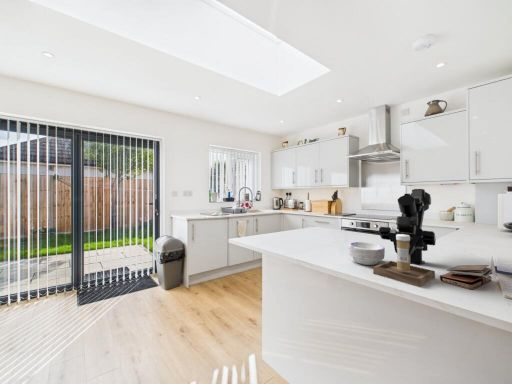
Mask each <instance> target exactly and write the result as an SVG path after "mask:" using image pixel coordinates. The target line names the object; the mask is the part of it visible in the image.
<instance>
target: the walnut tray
mask: <svg viewBox="0 0 512 384" xmlns="http://www.w3.org/2000/svg"><path fill="white" fill-rule="evenodd" d="M372 268H373V271H372V273H373V275H377V276H380V277H383V278H387V279H390V280H393V281H398V282H401V283H404V284H408V285H412V286H415V287H418V288H420V287H422V286H423V285H425V284H427V283H429V282H431V281H432V280H434V279H436V270H432V269H427V268H423V267H419V266H415V265H412V264H410V271H402V270H399V269H397V261H394V260H388V261H386V262H383V263H380V264H376V265H373V267H372Z"/></svg>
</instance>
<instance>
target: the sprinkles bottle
mask: <svg viewBox="0 0 512 384" xmlns="http://www.w3.org/2000/svg"><path fill="white" fill-rule="evenodd" d="M396 239H397V253H396V262H397V269H399V270H402V271H410V265H411V263H410V255H409V249H410V243H409V242H410V236H409V235H405V234H397V235H396Z"/></svg>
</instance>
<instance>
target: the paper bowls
mask: <svg viewBox="0 0 512 384" xmlns="http://www.w3.org/2000/svg"><path fill="white" fill-rule="evenodd" d="M347 246H348V250H347V253H348V255H349V256H350V257H352V259H353V261H354V262H355V263H358V264H360V265H364V266H377V265H379V262H380V261H382V260H384V259H385V253H386V251H385V247H384V246H383V245H381V244H378V243H374V242H369V241H368V242H367V241H352V242H349V243H348V245H347Z"/></svg>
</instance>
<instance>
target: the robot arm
mask: <svg viewBox="0 0 512 384" xmlns="http://www.w3.org/2000/svg"><path fill="white" fill-rule="evenodd" d="M397 203H398V208H399V212H400V213H401V215H400V216H396V222H395V223H396V224H395V225H396V229H397V230H396V229H392V228H391V227H389V226H380V227H379V228H378V233H379V236H380V239H382V240H387V241H388V240H389V242H392V243H393V247H394V253H396V254H397V239H396V235H397V234H405V235H409V236H410V242H409V243H410V249H409V255H410V264H414V265H419V266H420V265H422V264H425V263H426V261H425V260H423V252H426V251H427V252H428V246H435V245H436V243H437V242H436V240H437V239H436V234H435V232H434V230H433V231H432V230H431V231H430V230H424V229H422V228H423V220H424V215H425V212H426V211H428V210H429V209H430V205H432V197H431V194H430V193H428V192H426V190H425V189H424V188H414V189H412V190H411V193H404V194H403V195H402V196H400V197H399V198H397Z"/></svg>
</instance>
